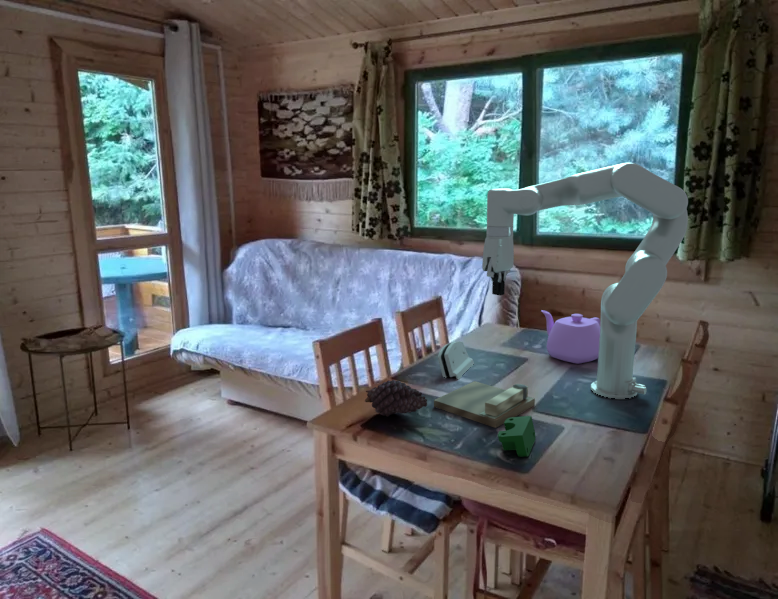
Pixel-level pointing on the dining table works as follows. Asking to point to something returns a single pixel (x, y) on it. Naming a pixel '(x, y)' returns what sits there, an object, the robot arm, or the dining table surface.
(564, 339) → the teapot
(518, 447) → the clamp
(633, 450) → the dining table surface
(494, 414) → the folding leg
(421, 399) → the pine cone
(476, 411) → the stool seat
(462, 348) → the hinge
